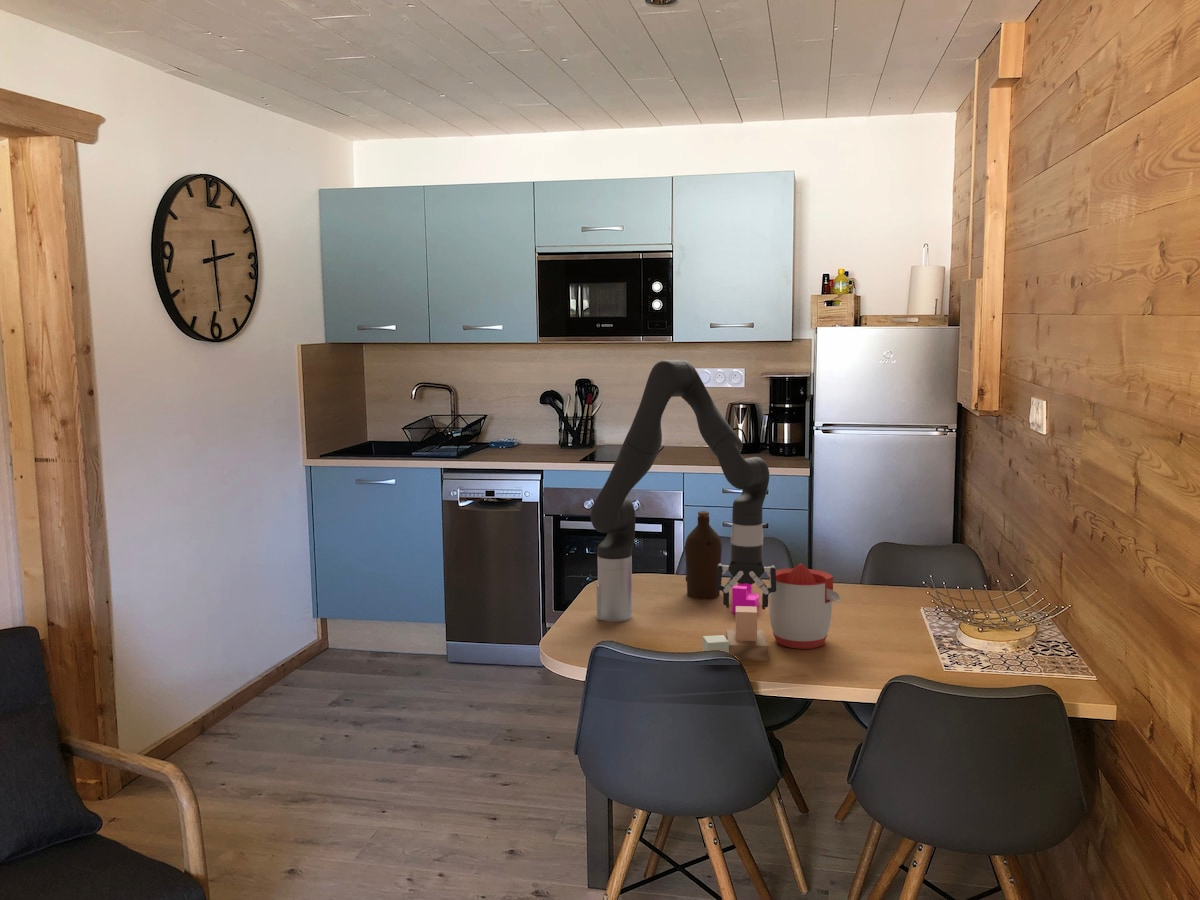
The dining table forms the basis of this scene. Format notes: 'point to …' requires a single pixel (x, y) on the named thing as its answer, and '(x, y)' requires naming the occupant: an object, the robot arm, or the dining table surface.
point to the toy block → (744, 596)
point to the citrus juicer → (801, 607)
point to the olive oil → (702, 559)
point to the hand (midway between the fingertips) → (745, 607)
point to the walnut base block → (748, 647)
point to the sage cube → (715, 643)
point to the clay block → (746, 623)
